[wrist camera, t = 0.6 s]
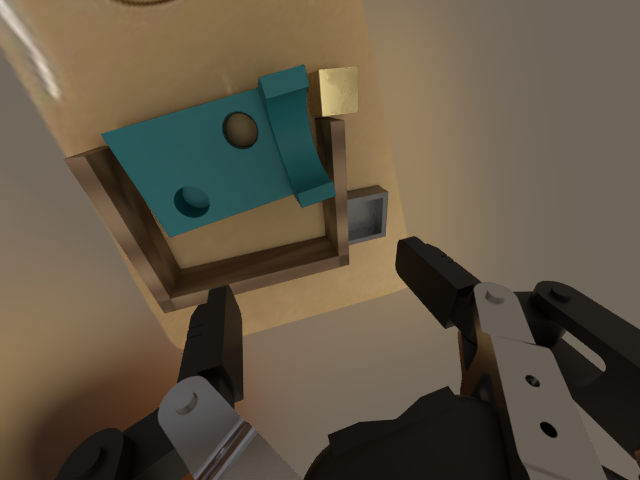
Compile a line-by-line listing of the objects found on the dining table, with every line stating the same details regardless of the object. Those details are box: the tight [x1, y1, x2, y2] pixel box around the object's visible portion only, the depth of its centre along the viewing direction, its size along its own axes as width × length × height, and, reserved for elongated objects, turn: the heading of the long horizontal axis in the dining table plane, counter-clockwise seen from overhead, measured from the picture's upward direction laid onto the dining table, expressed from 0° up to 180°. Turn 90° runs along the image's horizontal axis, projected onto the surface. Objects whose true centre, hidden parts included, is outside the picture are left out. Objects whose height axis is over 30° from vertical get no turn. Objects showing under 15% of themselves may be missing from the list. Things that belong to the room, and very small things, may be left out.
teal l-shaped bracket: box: [101, 65, 336, 237], centre depth 24 cm, size 18×11×10 cm, turn 105°
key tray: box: [347, 186, 388, 245], centre depth 36 cm, size 8×8×3 cm
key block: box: [307, 66, 358, 117], centre depth 26 cm, size 4×4×5 cm
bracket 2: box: [64, 117, 349, 313], centre depth 30 cm, size 19×25×6 cm
